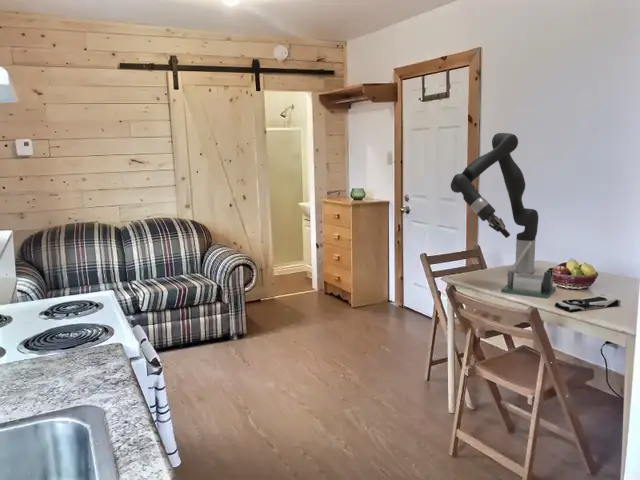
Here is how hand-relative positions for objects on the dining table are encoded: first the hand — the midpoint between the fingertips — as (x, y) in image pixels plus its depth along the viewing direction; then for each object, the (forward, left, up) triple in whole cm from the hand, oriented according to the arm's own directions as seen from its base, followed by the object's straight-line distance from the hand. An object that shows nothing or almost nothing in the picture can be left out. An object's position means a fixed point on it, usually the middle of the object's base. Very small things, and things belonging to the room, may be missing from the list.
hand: (508, 236), depth 248 cm
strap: (0, +6, -10) cm, 12 cm away
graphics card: (+12, +35, -25) cm, 45 cm away
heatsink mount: (0, +10, -24) cm, 26 cm away
